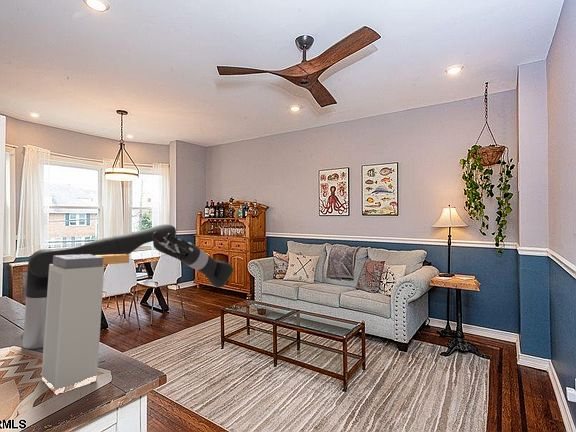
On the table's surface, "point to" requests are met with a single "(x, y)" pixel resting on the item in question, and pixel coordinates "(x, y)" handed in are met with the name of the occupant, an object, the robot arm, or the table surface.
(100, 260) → the grey paddle with handle
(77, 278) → the tall grey pillar
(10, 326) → the table surface
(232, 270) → the robot arm
